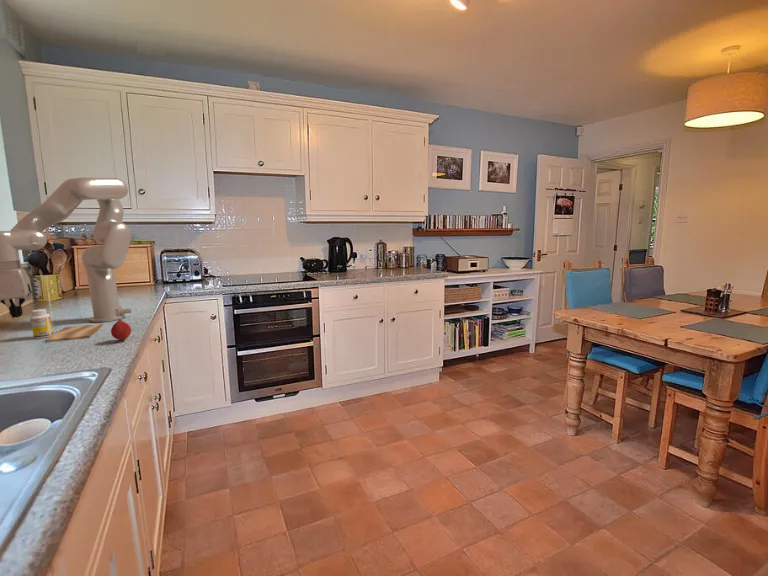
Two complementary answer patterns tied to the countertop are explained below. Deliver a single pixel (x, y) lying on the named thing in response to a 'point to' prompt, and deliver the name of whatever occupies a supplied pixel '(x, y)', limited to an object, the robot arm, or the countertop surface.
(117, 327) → the onion
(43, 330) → the supplement bottle
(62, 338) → the wooden cutting board
